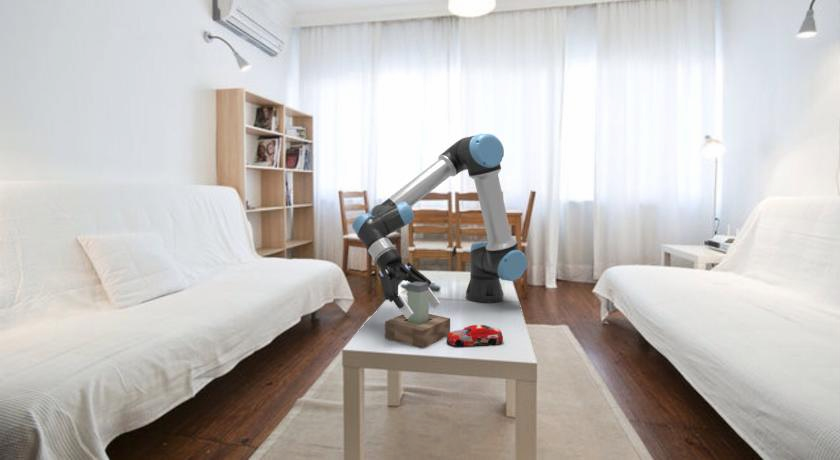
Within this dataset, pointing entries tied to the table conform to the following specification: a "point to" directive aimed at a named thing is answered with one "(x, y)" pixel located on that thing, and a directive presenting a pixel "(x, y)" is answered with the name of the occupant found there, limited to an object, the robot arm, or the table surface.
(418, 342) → the collar block
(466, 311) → the table surface
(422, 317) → the pin
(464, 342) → the race car
